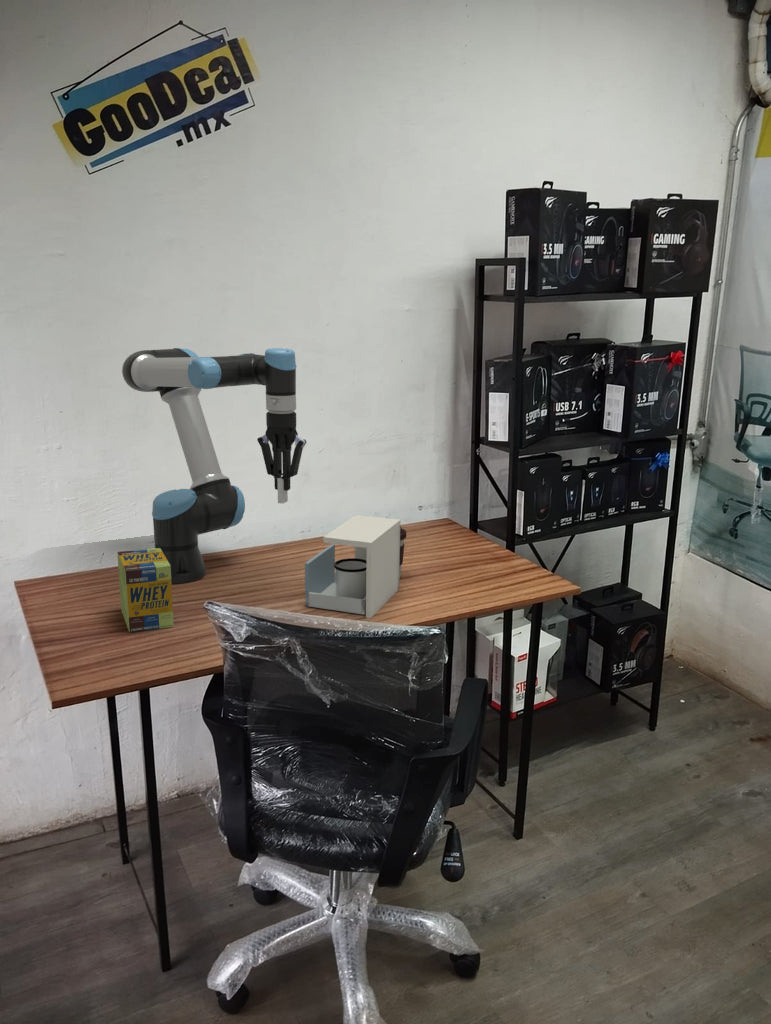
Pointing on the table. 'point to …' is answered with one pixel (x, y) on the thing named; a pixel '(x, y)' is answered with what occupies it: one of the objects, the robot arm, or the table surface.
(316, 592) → the tray
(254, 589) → the table surface
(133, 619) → the protein box
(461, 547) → the table surface
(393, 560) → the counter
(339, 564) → the mug
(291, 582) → the table surface
